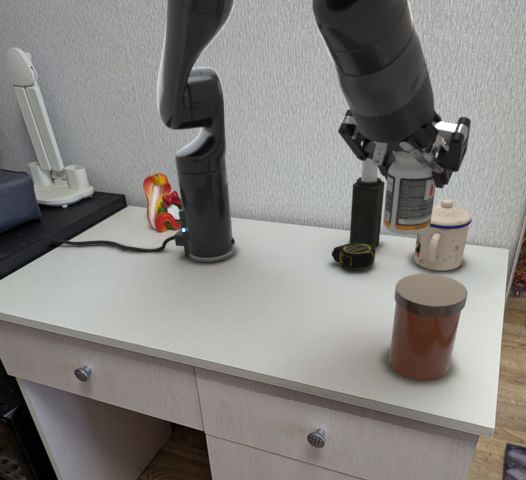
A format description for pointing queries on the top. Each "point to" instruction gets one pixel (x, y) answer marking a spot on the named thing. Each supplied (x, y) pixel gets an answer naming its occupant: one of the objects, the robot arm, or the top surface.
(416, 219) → the pill bottle
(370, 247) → the tape measure
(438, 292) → the jar
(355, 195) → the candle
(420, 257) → the teacup with lid
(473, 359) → the top surface
